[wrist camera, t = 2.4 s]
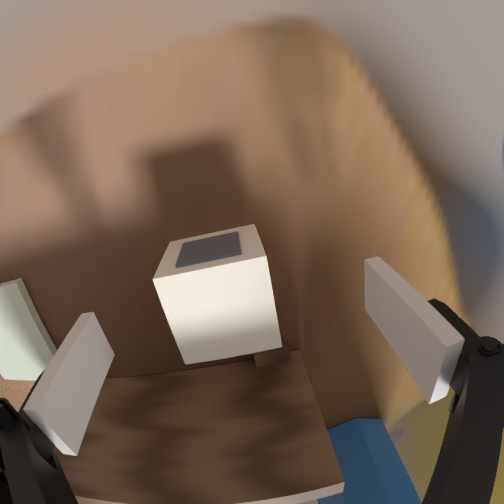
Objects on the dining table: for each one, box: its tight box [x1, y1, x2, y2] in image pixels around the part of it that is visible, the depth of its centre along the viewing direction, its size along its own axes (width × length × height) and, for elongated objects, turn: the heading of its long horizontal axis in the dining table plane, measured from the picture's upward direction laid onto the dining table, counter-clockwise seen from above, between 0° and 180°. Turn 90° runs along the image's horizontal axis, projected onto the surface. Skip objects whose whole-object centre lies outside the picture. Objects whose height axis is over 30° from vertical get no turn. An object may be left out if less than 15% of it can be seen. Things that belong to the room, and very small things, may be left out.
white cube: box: [153, 224, 282, 365], centre depth 16 cm, size 5×5×5 cm
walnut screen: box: [53, 339, 345, 504], centre depth 16 cm, size 20×4×11 cm, turn 100°
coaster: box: [0, 278, 57, 380], centre depth 18 cm, size 9×9×1 cm
